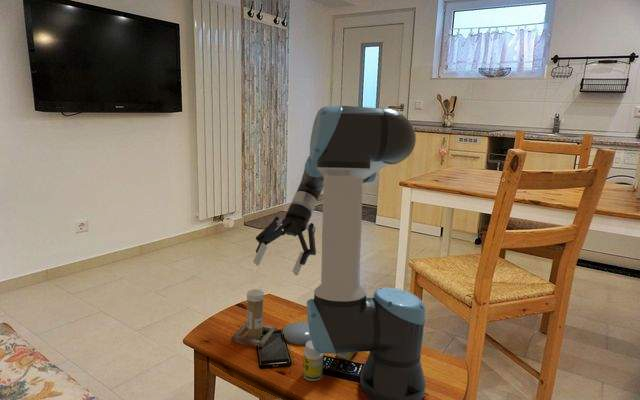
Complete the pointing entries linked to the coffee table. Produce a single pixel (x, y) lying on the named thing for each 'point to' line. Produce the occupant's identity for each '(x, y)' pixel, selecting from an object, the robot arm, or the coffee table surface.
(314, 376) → the supplement bottle
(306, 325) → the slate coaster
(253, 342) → the gray square frame
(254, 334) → the sprinkles bottle
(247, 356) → the coffee table surface
